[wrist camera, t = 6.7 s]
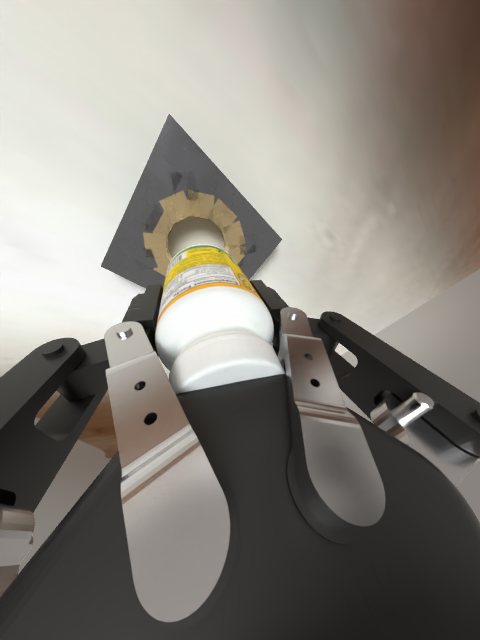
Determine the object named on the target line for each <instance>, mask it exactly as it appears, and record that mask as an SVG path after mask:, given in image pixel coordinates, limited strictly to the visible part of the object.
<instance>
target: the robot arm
mask: <svg viewBox="0 0 480 640" xmlns="http://www.w3.org/2000/svg"><path fill="white" fill-rule="evenodd" d="M249 282H250V283H251V285H252V286H253V288H254V289H255V290H256V292H257V294H258V295H259V297H260V298H261V299H262V301H263V303H264V304H265V306H266V307H267V309H268V310H269V312H270V315H271V317H272V320H273V325H274V336H273V341H272V347H273V349H274V351H275V353H276V355H277V357H278V359H279V361H280V363H281V365H282V367H283V369H284V371H285V374H278V375H273V376H267V377H262V378H256V379H250V380H244V381H239V382H234V383H229V384H224V385H219V386H214V387H209V388H204V389H199V390H194V391H188V392H183V393H178V394H175V392H174V390H173V388H172V386H171V383H170V381H169V379H168V377H167V375H166V373H165V371H164V369H163V367H162V364H161V362H160V360H159V358H158V353H157V350H156V345H155V333H156V326H157V320H158V315H159V310H160V305H161V300H162V294H163V286H162V285H148V286H147V288H146V291H145V293H144V294H138V295H137V296H136V297H134V298H133V299H132V301H131V304H130V306H129V308H128V310H127V312H126V314H125V317H124V319H123V321H122V323H120V324H117V325H115V326H113V327H111V328H110V329H108V330H107V332H106V333H105V335H104V339H102V340H99V341H95V342H92V343H88V344H85V345H80V343H79V342H78V340H76V339H74V338H61V339H56V340H53V341H50V342H47V343H45V344H43V345H41V346H39V347H38V348H36V349H35V350H33V351H32V352H31V353H30V354H29V355H27V356H26V357H25V358H24V359H22V360H21V361H20V362H19V363H18V364H16V365H15V366H14V367H13V368H12V369H10V370H9V371H8V372H7V373H5V374H4V375H3V376H2V377H1V378H0V640H480V523H479V521H478V519H477V517H476V516H475V514H474V512H473V510H472V509H471V507H470V506H469V504H468V503H467V501H466V500H465V498H464V497H463V496H462V494H461V493H460V492H459V491H458V489H457V488H458V486H459V485H460V483H461V482H462V480H463V479H464V477H465V476H466V475H467V473H468V472H469V470H470V469H471V467H472V466H473V464H474V463H476V462H479V461H480V403H479V402H477V401H476V400H474V399H473V398H471V397H470V396H468V395H466V394H465V393H463V392H462V391H460V390H459V389H457V388H456V387H454V386H452V385H451V384H449V383H448V382H446V381H445V380H443V379H441V378H440V377H438V376H437V375H435V374H434V373H432V372H430V371H429V370H427V369H426V368H424V367H423V366H421V365H420V364H418V363H416V362H415V361H413V360H412V359H410V358H409V357H407V356H405V355H404V354H402V353H401V352H399V351H398V350H396V349H394V348H393V347H391V346H390V345H388V344H387V343H385V342H383V341H382V340H380V339H379V338H377V337H376V336H374V335H373V334H371V333H369V332H368V331H366V330H365V329H363V328H362V327H360V326H358V325H357V324H355V323H354V322H352V321H351V320H349V319H347V318H346V317H344V316H343V315H341V314H338V313H335V312H324V313H322V315H321V317H320V319H314V318H307V316H306V314H305V313H304V312H303V311H301V310H299V309H297V308H292V307H289V306H288V305H287V304H286V303H285V302H284V301H283V299H282V298H281V297H280V296H279V295H278V294H277V293H276V291H275V290H273V289H271V288H270V287H266V285H265V284H264V283H263V282H262V281H261V280H253V281H249ZM338 343H340V344H341V345H343V346H344V347H345V348H347V349H348V350H349V351H350V352H352V353H353V354H354V355H355V356H356V357H357V359H358V364H357V366H356V367H355V368H354V367H353V366H352V365H351V364H350V363H348V362H347V361H346V360H345V359H344V358H342V357H341V356H340V355H339V354H338V353H337V352H335V351H334V350H335V349H336V347H337V345H338ZM339 388H340V389H341V390H342V391H343V392H344V393H345V394H346V395H347V396H348V397H349V398H350V399H351V400H352V401H353V402H354V403H355V404H356V405H357V406H358V407H359V408H360V409H361V410H362V411H363V412H364V413H365V414H366V415H367V416H368V417H369V418H370V419H371V420H372V422H373V423H374V424H373V423H371V422H369V421H368V420H366V419H365V418H363V417H362V416H360V415H358V414H357V413H355V412H354V411H352V410H350V409H349V408H347V407H346V406H345V403H344V400H343V397H342V394H341V392H340V389H339ZM107 389H108V390H109V396H110V402H111V408H112V414H113V420H114V426H115V432H116V438H117V444H118V452H117V453H116V454H115V455H114V457H113V458H112V459H111V460H110V462H109V463H108V464H107V465H106V467H105V468H104V469H103V470H102V472H101V473H100V474H99V475H98V476H97V478H96V479H95V480H94V481H93V483H92V484H91V485H90V486H89V488H88V489H87V490H86V491H85V492H84V494H83V495H82V496H81V497H80V499H79V500H78V501H77V502H76V504H75V505H74V506H73V507H72V509H71V510H70V511H69V512H68V514H67V515H66V516H65V517H64V518H63V520H62V521H61V522H60V523H59V525H58V526H57V527H56V528H55V530H54V531H53V532H52V533H51V535H50V536H49V537H48V538H47V540H46V541H45V542H44V543H43V544H42V546H41V547H40V548H39V549H38V551H37V552H36V553H35V554H34V556H33V557H32V558H31V559H30V561H29V562H28V563H27V564H26V566H25V567H24V568H23V569H22V570H21V572H20V573H19V574H18V570H19V566H20V563H21V562H22V561H23V560H24V559H25V558H26V556H27V555H28V553H29V551H30V550H31V547H32V544H33V537H32V534H33V530H34V526H35V518H34V515H33V512H34V510H35V509H36V507H37V506H38V504H39V502H40V501H41V499H42V497H43V496H44V494H45V492H46V491H47V489H48V487H49V486H50V484H51V483H52V481H53V479H54V478H55V476H56V474H57V472H58V471H59V469H60V468H61V466H62V464H63V463H64V461H65V459H66V458H67V456H68V454H69V453H70V451H71V449H72V448H73V446H74V444H75V443H76V441H77V440H78V438H79V436H80V435H81V433H82V431H83V430H84V428H85V426H86V425H87V423H88V421H89V420H90V418H91V416H92V415H93V413H94V411H95V410H96V408H97V406H98V405H99V403H100V401H101V400H102V398H103V397H104V395H105V393H106V391H107ZM56 390H57V391H58V392H59V393H60V394H61V395H60V396H59V397H58V398H57V400H56V401H55V402H54V403H53V404H52V406H51V407H50V408H49V409H48V411H47V412H46V413H45V414H44V415H43V417H42V418H41V419H40V420H39V422H38V423H37V424H36V425H34V420H35V417H36V414H37V413H38V411H39V410H40V409H41V408H42V406H43V405H44V404H45V403H46V402H47V401H48V399H49V398H50V397H51V396H52V395H53V394H54V392H55V391H56Z"/></svg>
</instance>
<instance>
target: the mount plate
mask: <svg viewBox="0 0 480 640" xmlns="http://www.w3.org/2000/svg"><path fill="white" fill-rule="evenodd" d="M197 191H198V192H197ZM174 193H175V194H174ZM190 216H194V217H200V218H205V219H210V220H211V221H212V222H213V223H214V224H215V225H216V226H218V227H219V228H220V230H221V233H222V235H223V238H224V241H225V246H224V250H225V251H226V252H227V253H228V254H229V255H230V256H231V257H232V258H233V259H234V261H235V262H236V263H237V265H238V266H239V267H240V269H241V270H242V272H243V273H244V275H245V276H246V278H247V279H248V280H249V278H250V277H251V276H252V275H253V274H254V272H255V271H256V270H257V269H258V268H259V267H260V265H261V264H262V263H263V262H264V261H265V259H266V258H267V257H268V256H269V255H270V253H271V252H272V251H273V250H274V249H275V248H276V246H277V245H278V244H279V243H280V242H281V240H282V239H281V238H280V237H279V235H278V234H277V233H276V232H275V231H274V230H273V229H272V228H271V227H270V225H269V224H268V223H267V222H266V221H265V220H264V219H263V218H262V217H261V215H260V214H259V213H258V212H257V211H256V210H255V209H254V208H253V207H252V205H251V204H250V203H249V202H248V201H247V200H246V199H245V198H244V197H243V195H242V194H241V193H240V192H239V191H238V190H237V189H236V188H235V186H234V185H233V184H232V183H231V182H230V181H229V180H228V179H227V178H226V176H225V175H224V174H223V173H222V172H221V171H220V170H219V169H218V168H217V166H216V165H215V164H214V163H213V162H212V161H211V160H210V159H209V158H208V156H207V155H206V154H205V153H204V152H203V151H202V150H201V149H200V148H199V146H198V145H197V144H196V143H195V142H194V141H193V140H192V139H191V138H190V136H189V135H188V134H187V133H186V132H185V131H184V130H183V129H182V127H181V126H180V125H179V124H178V123H177V122H176V121H175V120H174V119H173V117H172V116H171V115H170V114H169V115H168V117H167V120H166V122H165V124H164V126H163V129H162V131H161V133H160V135H159V137H158V140H157V142H156V144H155V146H154V149H153V151H152V153H151V155H150V158H149V160H148V162H147V164H146V166H145V169H144V171H143V173H142V175H141V178H140V180H139V182H138V184H137V187H136V189H135V191H134V193H133V195H132V198H131V200H130V202H129V204H128V207H127V209H126V211H125V213H124V216H123V218H122V220H121V222H120V224H119V227H118V229H117V231H116V233H115V236H114V238H113V240H112V242H111V244H110V247H109V249H108V251H107V253H106V256H105V258H104V260H103V262H102V265H101V267H103V268H105V269H107V270H110V271H112V272H114V273H116V274H118V275H120V276H122V277H124V278H126V279H128V280H130V281H132V282H134V283H136V284H138V285H140V286H142V287H145V288H147V286H148V285H162V286H163V288H164V282H165V277H166V272H167V269H168V266H169V264H170V262H171V260H172V259H173V257H172V255H171V253H170V252H169V250H168V234H169V232H170V230H171V229H172V227H173V225H174V223H176V222H179V221H181V220H183V219H185V218H187V217H190Z"/></svg>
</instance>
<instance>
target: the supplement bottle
mask: <svg viewBox="0 0 480 640" xmlns="http://www.w3.org/2000/svg"><path fill="white" fill-rule="evenodd" d="M273 336H274V325H273V320H272V317H271V315H270V312H269V310H268V309H267V307H266V306H265V304H264V303H263V301H262V299H261V298H260V297H259V295H258V294H257V292H256V290H255V289H254V288H253V286H252V285H251V283H250V282H249V280H248V279H247V278H246V276H245V275H244V273H243V272H242V270H241V269H240V267H239V266H238V265H237V263H236V262H235V261H234V259H233V258H232V257H231V256H230V255H229V254H228V253H227V252H226V251H225V250H223V249H221V248H220V247H217V246H215V245H211V244H194V245H191V246H188V247H186V248H184V249H182V250H181V251H179V252H178V253H177V254H176V255H175V256H174V257H173V259H172V260H171V262H170V264H169V266H168V269H167V272H166V277H165V282H164V288H163V294H162V300H161V305H160V310H159V315H158V320H157V326H156V333H155V345H156V350H157V353H158V356H159V358H160V360H161V361H162V363H163V364H164V365H165V367H166V368H167V369H168V370H170V374H169V381H170V383H171V386H172V388H173V390H174V392H175V394H178V393H183V392H188V391H194V390H199V389H204V388H209V387H214V386H219V385H224V384H229V383H234V382H239V381H244V380H250V379H256V378H262V377H267V376H273V375H278V374H285V371H284V369H283V367H282V365H281V363H280V361H279V359H278V357H277V355H276V353H275V351H274V349H273V347H272V346H271V344H272V341H273Z"/></svg>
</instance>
